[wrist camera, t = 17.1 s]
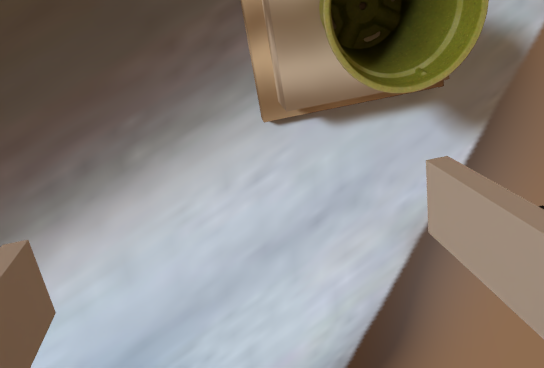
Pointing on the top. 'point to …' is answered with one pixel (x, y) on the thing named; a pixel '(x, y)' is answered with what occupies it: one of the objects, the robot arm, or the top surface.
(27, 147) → the top surface
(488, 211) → the robot arm
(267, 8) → the pedestal base
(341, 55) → the plant pot
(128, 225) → the top surface
